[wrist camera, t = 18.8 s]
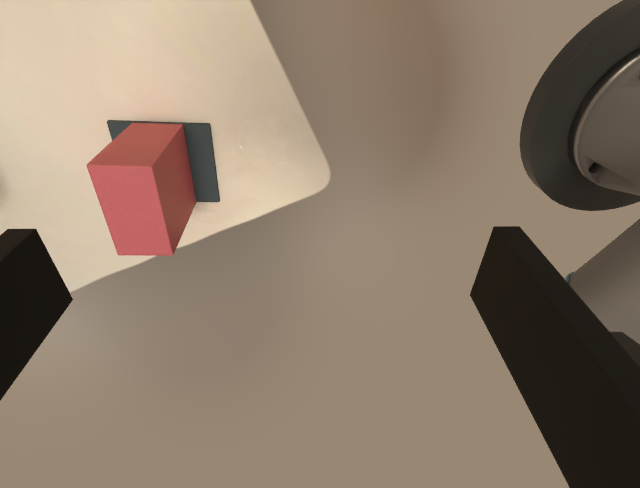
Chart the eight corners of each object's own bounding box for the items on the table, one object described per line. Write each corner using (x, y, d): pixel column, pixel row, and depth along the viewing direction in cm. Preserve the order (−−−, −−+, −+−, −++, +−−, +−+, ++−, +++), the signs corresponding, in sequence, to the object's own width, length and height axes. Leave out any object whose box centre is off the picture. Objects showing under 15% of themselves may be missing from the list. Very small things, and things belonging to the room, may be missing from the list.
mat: (210, 123, 38) (209, 124, 37) (219, 200, 43) (219, 202, 43) (108, 120, 37) (106, 121, 37) (131, 199, 42) (129, 200, 42)
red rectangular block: (183, 123, 37) (151, 166, 29) (196, 201, 42) (173, 255, 34) (131, 122, 37) (85, 164, 29) (151, 201, 42) (117, 255, 34)
